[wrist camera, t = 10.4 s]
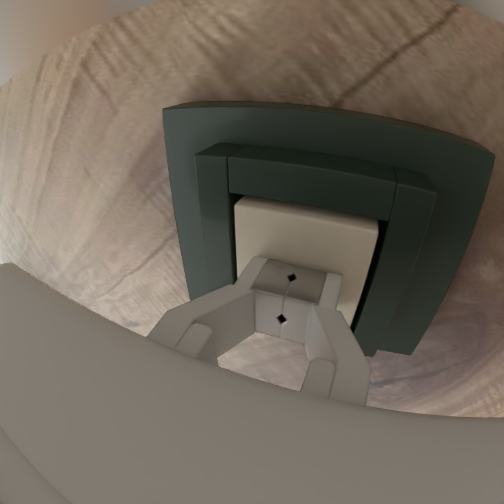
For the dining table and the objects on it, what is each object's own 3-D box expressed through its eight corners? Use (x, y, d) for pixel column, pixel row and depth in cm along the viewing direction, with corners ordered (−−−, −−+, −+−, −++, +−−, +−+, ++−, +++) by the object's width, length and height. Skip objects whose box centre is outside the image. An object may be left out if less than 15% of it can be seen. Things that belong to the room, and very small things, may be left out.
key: (251, 186, 10) (233, 204, 9) (378, 209, 9) (378, 232, 7) (252, 282, 13) (238, 306, 11) (352, 306, 11) (347, 333, 10)
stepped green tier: (188, 102, 11) (133, 117, 9) (477, 142, 8) (516, 170, 5) (206, 279, 17) (174, 320, 14) (410, 328, 13) (409, 382, 11)
